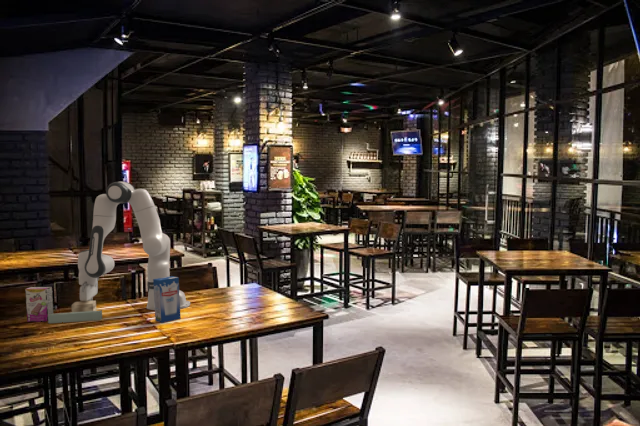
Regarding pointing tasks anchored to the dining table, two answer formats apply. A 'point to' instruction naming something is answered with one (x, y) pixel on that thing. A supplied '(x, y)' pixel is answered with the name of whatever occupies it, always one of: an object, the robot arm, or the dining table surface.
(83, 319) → the pale grey bar
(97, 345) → the dining table surface
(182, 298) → the robot arm
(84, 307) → the block
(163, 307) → the milk carton
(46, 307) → the candy bar box
